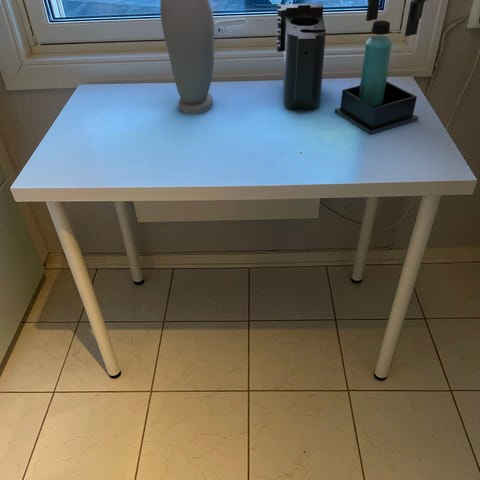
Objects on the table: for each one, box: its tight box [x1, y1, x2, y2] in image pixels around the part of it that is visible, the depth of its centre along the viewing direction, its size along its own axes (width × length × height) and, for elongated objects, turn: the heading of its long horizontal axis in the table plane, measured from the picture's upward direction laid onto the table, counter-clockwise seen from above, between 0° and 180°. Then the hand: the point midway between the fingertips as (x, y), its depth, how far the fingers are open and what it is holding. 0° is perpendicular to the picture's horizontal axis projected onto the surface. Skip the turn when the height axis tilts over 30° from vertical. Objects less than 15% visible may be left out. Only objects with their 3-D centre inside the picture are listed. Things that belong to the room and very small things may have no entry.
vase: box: [159, 0, 215, 115], centre depth 130 cm, size 13×13×35 cm
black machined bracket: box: [276, 3, 327, 110], centre depth 136 cm, size 12×21×22 cm, turn 177°
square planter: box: [334, 81, 419, 136], centre depth 132 cm, size 15×15×6 cm
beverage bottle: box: [359, 20, 393, 106], centre depth 128 cm, size 6×7×20 cm
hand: (390, 27), depth 119 cm, fingers open, 13 cm apart
